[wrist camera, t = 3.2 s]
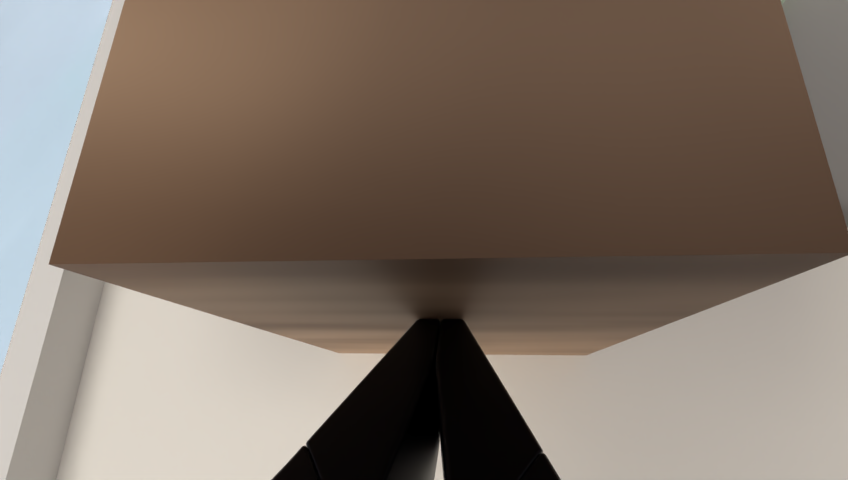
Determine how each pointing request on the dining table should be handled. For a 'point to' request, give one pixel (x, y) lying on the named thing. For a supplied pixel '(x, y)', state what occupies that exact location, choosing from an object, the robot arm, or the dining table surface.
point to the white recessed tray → (520, 374)
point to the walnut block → (451, 166)
